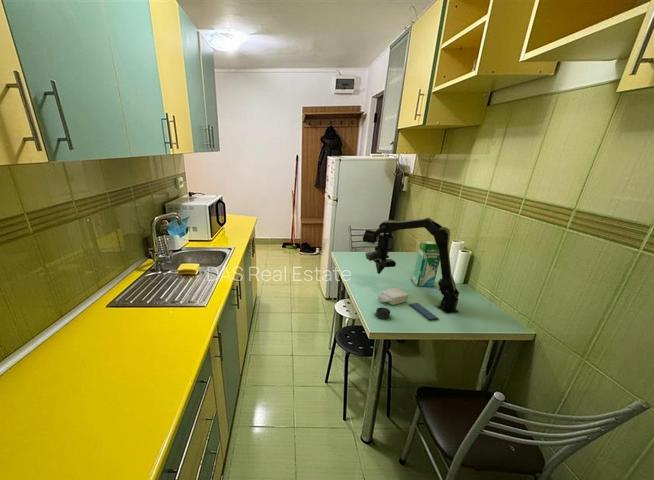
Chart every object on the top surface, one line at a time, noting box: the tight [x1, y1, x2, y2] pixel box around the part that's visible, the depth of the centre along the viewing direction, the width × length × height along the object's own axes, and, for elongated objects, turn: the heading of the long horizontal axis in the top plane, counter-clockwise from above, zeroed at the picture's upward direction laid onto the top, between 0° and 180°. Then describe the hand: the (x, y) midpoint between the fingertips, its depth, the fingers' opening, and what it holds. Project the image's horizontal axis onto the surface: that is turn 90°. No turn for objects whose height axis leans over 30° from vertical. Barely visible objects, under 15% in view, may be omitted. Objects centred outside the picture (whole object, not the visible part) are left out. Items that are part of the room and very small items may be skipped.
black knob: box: [375, 307, 391, 321], centre depth 139 cm, size 6×6×3 cm
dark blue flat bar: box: [409, 302, 439, 321], centre depth 144 cm, size 4×15×1 cm, turn 13°
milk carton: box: [411, 240, 440, 288], centre depth 170 cm, size 9×9×25 cm
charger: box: [376, 287, 409, 306], centre depth 153 cm, size 5×9×15 cm
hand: (378, 273), depth 161 cm, fingers closed
